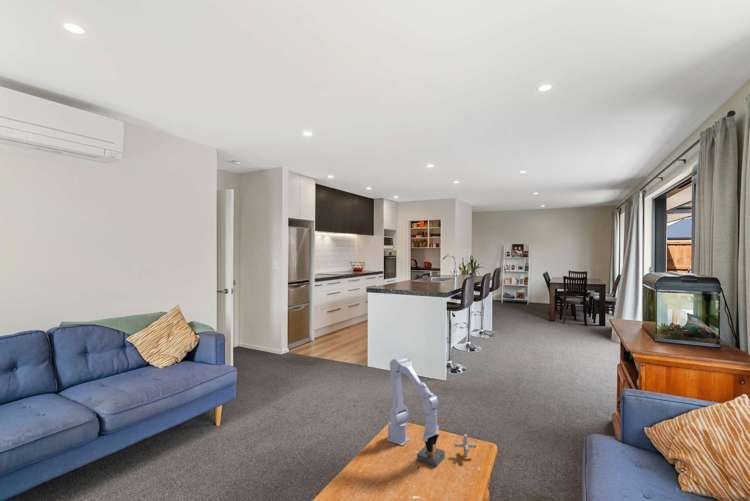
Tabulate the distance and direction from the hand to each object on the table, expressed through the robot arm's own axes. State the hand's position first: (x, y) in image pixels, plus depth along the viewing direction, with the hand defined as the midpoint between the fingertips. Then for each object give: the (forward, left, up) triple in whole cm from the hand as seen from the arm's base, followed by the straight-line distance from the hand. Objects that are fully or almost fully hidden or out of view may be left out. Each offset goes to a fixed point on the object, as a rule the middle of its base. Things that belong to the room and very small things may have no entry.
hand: (431, 449), depth 171 cm
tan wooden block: (0, 0, -3) cm, 4 cm away
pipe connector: (+13, +12, -5) cm, 18 cm away
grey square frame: (0, 0, -4) cm, 4 cm away
